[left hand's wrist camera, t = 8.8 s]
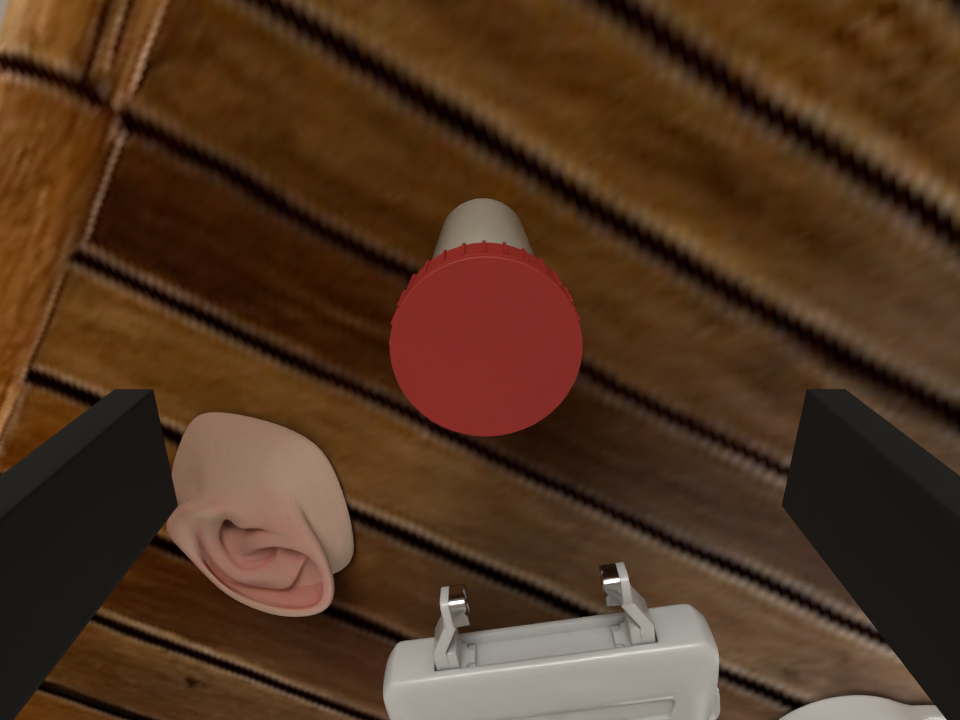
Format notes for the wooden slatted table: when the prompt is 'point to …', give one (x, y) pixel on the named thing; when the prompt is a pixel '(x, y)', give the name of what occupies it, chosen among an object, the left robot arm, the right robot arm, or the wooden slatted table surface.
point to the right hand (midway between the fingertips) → (532, 581)
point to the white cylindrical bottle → (482, 226)
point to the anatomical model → (260, 513)
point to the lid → (485, 340)
